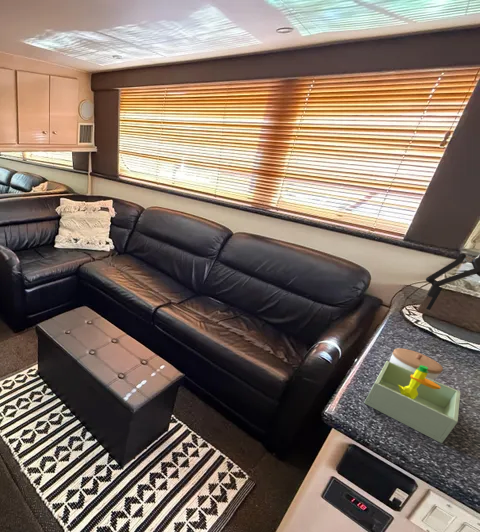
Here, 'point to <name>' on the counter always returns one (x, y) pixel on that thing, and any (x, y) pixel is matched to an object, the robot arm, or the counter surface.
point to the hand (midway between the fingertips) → (464, 321)
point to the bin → (415, 403)
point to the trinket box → (415, 362)
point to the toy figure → (417, 383)
